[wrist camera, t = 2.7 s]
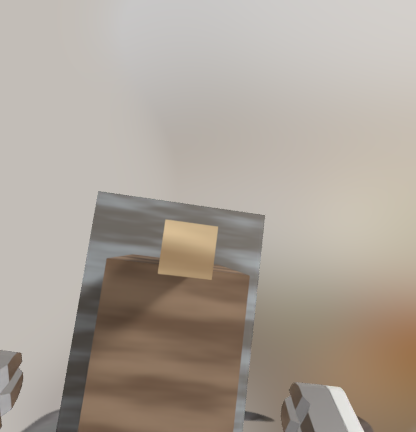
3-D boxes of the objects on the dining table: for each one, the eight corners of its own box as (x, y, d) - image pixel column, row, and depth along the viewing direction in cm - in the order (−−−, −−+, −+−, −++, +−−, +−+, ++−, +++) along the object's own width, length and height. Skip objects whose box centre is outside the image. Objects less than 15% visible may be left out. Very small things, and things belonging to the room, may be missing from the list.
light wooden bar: (216, 280, 17) (224, 217, 17) (152, 272, 16) (161, 207, 17) (194, 264, 32) (198, 232, 33) (161, 260, 32) (166, 227, 32)
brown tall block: (289, 625, 23) (323, 194, 27) (-47, 629, 20) (48, 151, 24) (235, 455, 42) (260, 216, 46) (57, 446, 39) (101, 193, 43)
